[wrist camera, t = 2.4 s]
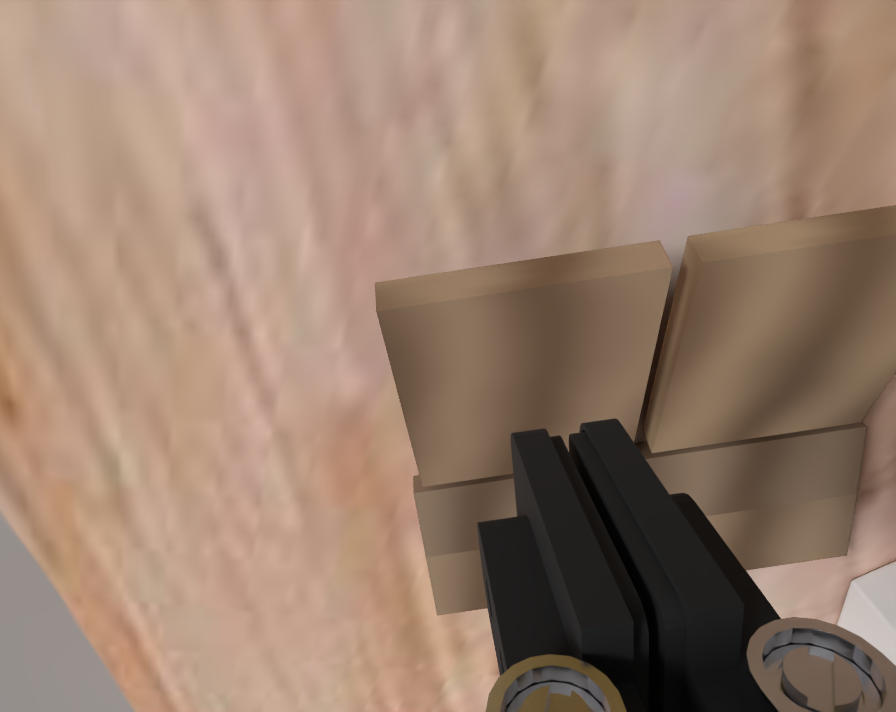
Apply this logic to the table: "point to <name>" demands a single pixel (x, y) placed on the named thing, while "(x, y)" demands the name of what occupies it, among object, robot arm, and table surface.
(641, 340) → the plank
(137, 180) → the table surface
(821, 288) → the plank
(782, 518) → the floor strip
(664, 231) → the table surface
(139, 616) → the table surface
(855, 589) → the jar
